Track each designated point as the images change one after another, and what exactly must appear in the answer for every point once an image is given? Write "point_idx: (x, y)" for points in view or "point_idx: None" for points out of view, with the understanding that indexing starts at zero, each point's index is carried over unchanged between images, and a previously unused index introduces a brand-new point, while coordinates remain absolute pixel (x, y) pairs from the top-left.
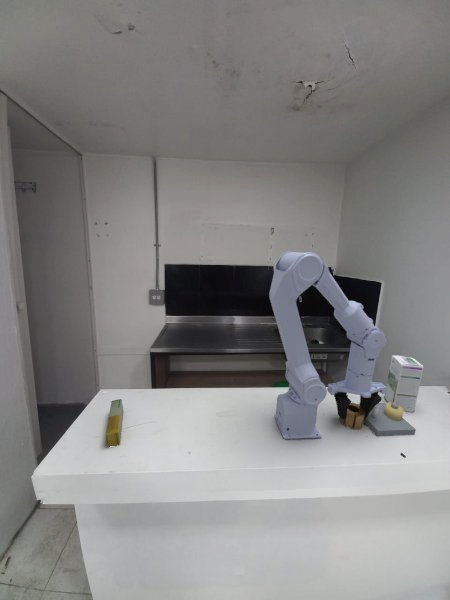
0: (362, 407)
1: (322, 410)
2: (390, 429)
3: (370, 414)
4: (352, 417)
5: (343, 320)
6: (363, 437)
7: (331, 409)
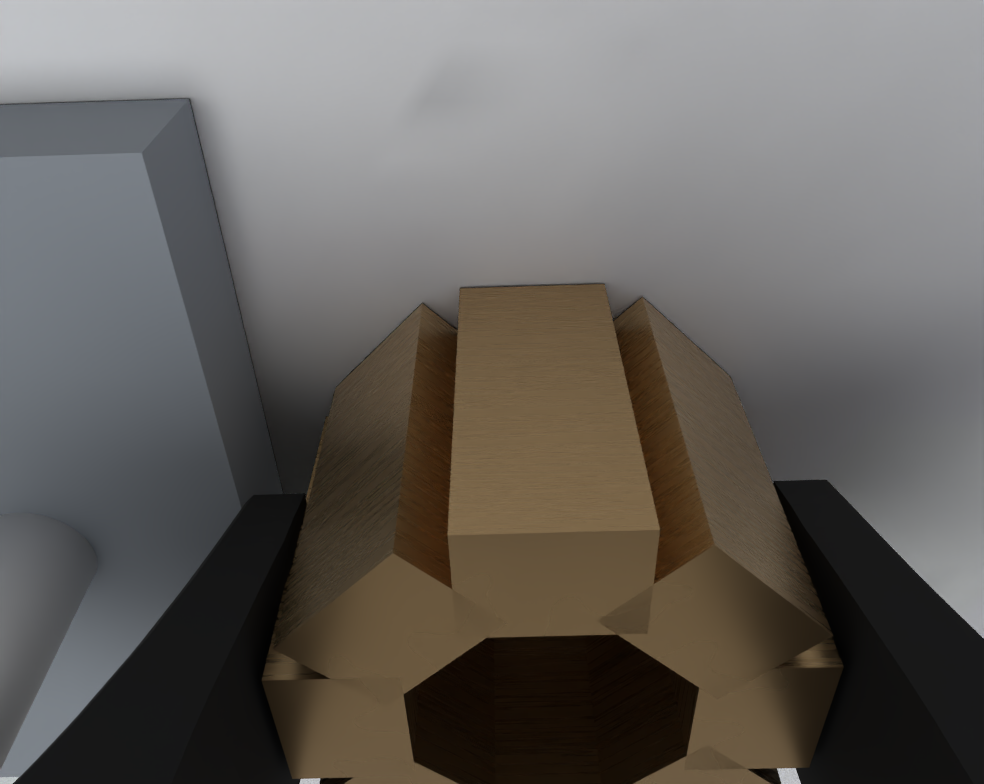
0: (276, 748)
1: None
2: None
3: (92, 584)
4: (720, 500)
5: None
6: (539, 65)
7: None
